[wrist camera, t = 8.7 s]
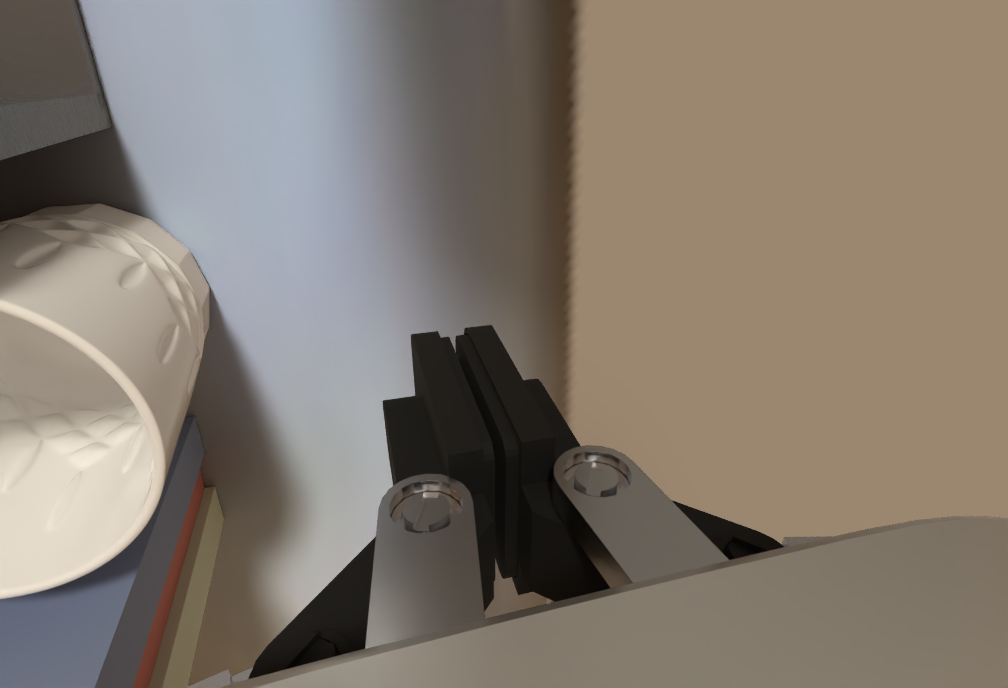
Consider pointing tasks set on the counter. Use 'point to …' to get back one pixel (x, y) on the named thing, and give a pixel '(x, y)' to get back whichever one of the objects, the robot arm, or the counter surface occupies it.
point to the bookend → (46, 77)
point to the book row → (126, 599)
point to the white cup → (89, 384)
